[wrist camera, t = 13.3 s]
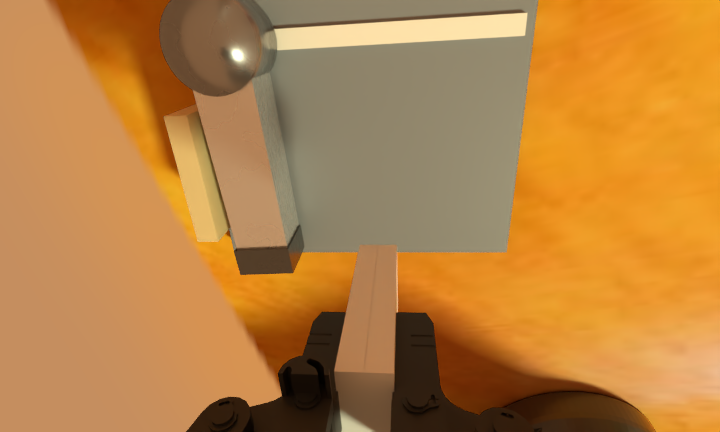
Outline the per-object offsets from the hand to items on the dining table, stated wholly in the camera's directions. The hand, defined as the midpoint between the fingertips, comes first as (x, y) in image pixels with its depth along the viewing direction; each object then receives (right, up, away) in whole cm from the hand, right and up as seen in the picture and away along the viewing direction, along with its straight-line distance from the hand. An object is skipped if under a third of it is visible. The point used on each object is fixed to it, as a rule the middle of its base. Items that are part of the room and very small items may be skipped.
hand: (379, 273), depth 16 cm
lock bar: (-7, +7, +6) cm, 11 cm away
